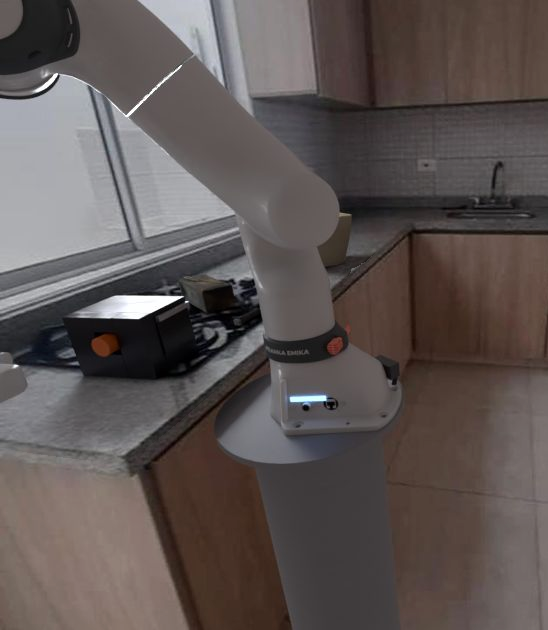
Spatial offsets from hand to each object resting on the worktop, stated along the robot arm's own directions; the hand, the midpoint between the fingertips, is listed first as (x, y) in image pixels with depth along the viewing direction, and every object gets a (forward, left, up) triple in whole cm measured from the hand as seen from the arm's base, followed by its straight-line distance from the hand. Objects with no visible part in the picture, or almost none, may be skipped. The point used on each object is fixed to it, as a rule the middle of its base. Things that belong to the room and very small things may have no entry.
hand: (3, 356), depth 63 cm
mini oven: (0, -22, -12) cm, 25 cm away
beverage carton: (+9, -56, -13) cm, 58 cm away
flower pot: (-7, -97, -13) cm, 98 cm away
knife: (-11, -51, -13) cm, 53 cm away
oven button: (0, -16, -7) cm, 18 cm away
